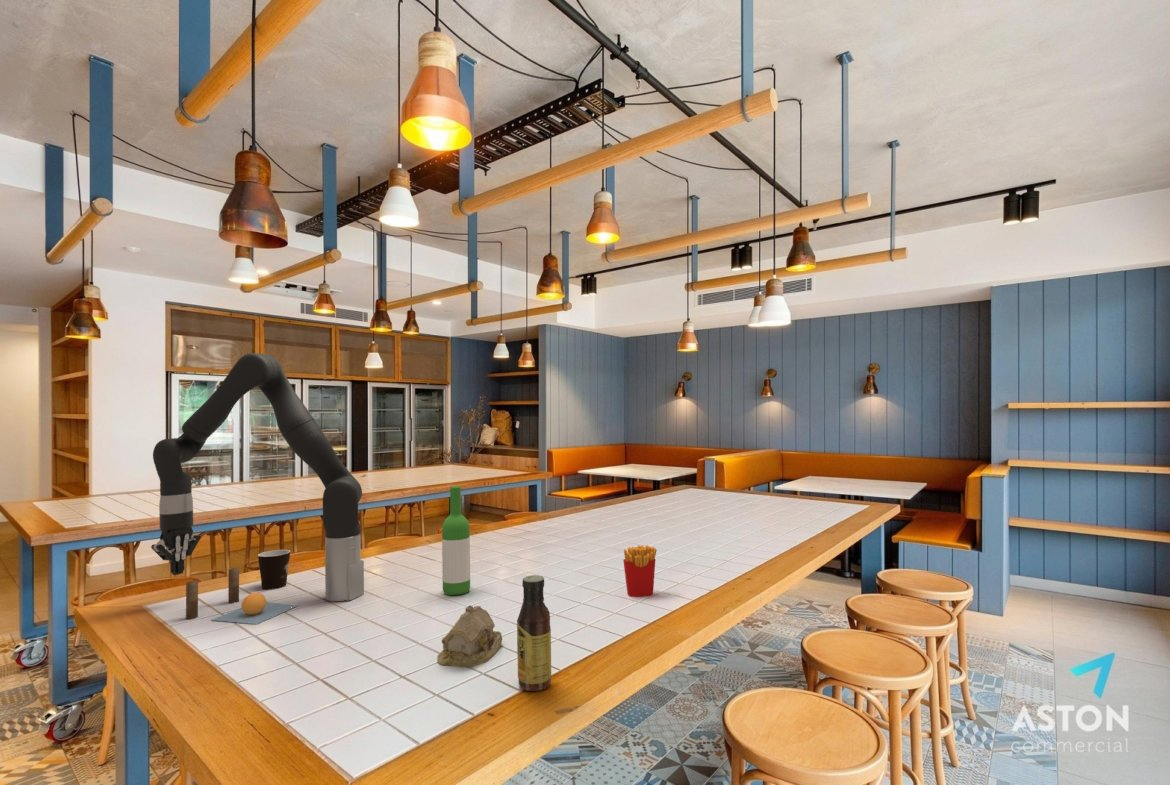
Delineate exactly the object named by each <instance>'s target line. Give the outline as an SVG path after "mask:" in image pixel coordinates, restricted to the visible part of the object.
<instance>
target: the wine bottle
mask: <svg viewBox="0 0 1170 785" xmlns="http://www.w3.org/2000/svg"><path fill="white" fill-rule="evenodd" d="M461 491H462V490H461V486H459V485H454V486H453V485H452V486H450V488H449V505H450V506H449V508H450V509H449V510H450V511H449V516H448V517H447V518H445V520H444V521H443V523H442V527H441V547H442V548H441V549H442V551H441V552H442V553H441V558H442V559H441V560H442V561H441V562H442V565H441V566H442V567H441V568H442V570H441V571H442V577H441V578H442V591H443V593H444V594H445V595H447V596H461V595H464V594H466V593H467V594H468V592H469V591H470V589H471V538H470V537H471V535H470V533H471V532H470V523H469V521H468V519H467V518H466V517H465V516H464V515H463V514H462V501H461V500H462V498H461V497H462V494H461Z"/></svg>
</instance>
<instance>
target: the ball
mask: <svg viewBox="0 0 1170 785" xmlns="http://www.w3.org/2000/svg"><path fill="white" fill-rule="evenodd" d="M266 602H267V599H266V596H264V594H263V593H259V592H252V593H249V594H248V595H247V596H245V597H244V598H243V599H242V602H241V608H242V610H243V612H244V613H246V614H248V615H256V614H259V613H260V612H261V611H262V610H263V609H264V608H265V606H266Z"/></svg>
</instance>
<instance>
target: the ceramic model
mask: <svg viewBox="0 0 1170 785" xmlns="http://www.w3.org/2000/svg"><path fill="white" fill-rule="evenodd" d="M494 628H495V622H494V620H493V618H492V617H491V615H490V613H489V612H488V611H487V610H486V609H483V607H481V606H480V605H475V606H473V605H467V607H466V608H465V611H464V613H463V614H460V616H459V618H458V619H457V621H456V622H455V624H454V625H453V626H452V627H451V629H450V630H449V632H447V634H446V635H445V636H444V637H442V638H441V644H442V647H443V648H442V650H441V651H440V653H438V654H437V661H436V662H437V663H438V664H439V665H440V666H452V667H453V666H454V667H461V668H462V667H463V668H468V667H470V668H471V667H474V666H477V665H481V664H484V663H486V662H488V661H489V660H491V658H492V657H494V655H496V654H497V652H498V651H499V649H500V648H501V645H502V643H503V635H502V632H501V631H498V630H497V631H496V630H494Z"/></svg>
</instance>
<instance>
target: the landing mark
mask: <svg viewBox="0 0 1170 785" xmlns="http://www.w3.org/2000/svg"><path fill="white" fill-rule="evenodd" d="M298 605H299V604H294V603H293V604H291V603H277V602H267V601H266V606H265V608H264V609H263V610H262V611H261V612H260V613H259V614H256V615H248V614H246V613H244V612H243V610H242V607H240V608H237V609H235V610H231V611H230V612H227V613H225V614H222V615H220V616H217V617H215V618H212V619H211V620H212V621H211V622H220V621H228V622H227V623H231V622H237V623H236V624H242V623H245V624H244V625H253V624H257V625H259V624H262V623H263V621H264V622H266V621H268V620H271V619H272V617H273V618H274V617H277V616H279V615H281V613H282V614H283V612H284V613H286V612H288V611H290V610H289V609H291V607H292V608H293V607H295V608H297V607H299V606H298ZM296 606H297V607H296ZM293 609H294V608H293ZM287 610H288V611H287ZM291 610H292V609H291ZM285 611H286V612H285ZM213 620H214V621H213ZM215 620H216V621H215ZM265 620H266V621H265ZM261 622H262V623H261Z"/></svg>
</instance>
